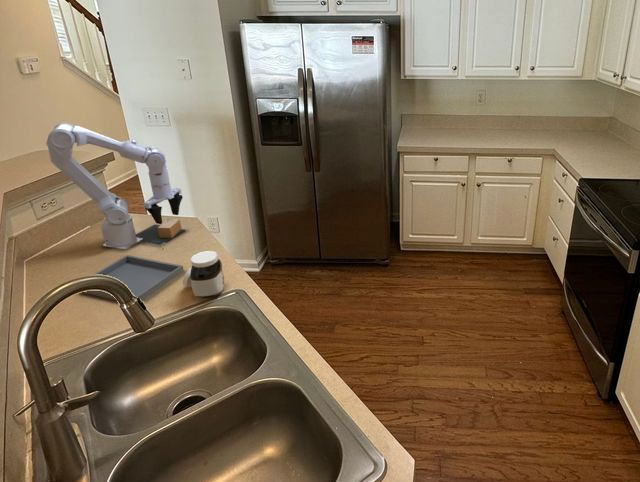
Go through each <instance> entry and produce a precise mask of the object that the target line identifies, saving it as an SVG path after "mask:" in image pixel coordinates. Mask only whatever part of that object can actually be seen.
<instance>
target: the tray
mask: <svg viewBox="0 0 640 482" xmlns="http://www.w3.org/2000/svg"><path fill="white" fill-rule="evenodd" d="M184 272H185V269H184V266H183V265H181V264H176V263H171V262H166V261H160V260H154V259H149V258H146V257H140V256H134V255H130V254H126V255H125V256H124V255H123V257H121V258H119V259H117V260H116V261H114V262H112V263H110V264H109V265H107V266H105V267H103V268H102V269H100V270H99V271H97V272H95V273H94V274H103V275H109V276H112V277H115V278H117V279H119V280H120V281H122V282H123V283H124V284H126V285H127V286H128V288H129V289H130V290H131V292H132V293H133V294H134V295H135V296H136V297H138V298H139V299H141V300H142V302H143V301H145V300H146V299H148V298H149V297H150V296H151V295H152V296H153V294H155V293H156V292H157V291H159V290H161V288H163V287H164V286H166V285H167V284H169V283H170V282H172V281H173V280H174V279H176V278H177V277H178V276H180V275H181V274H183V273H184ZM83 293H84V294H87V295H93V296H97V297H102V298H106V299H110V300H113V301H117V300H116V299H115V298H114V297H113V296H111V295H110V294H108V293H105V292H102V291H87V292H82V294H83Z"/></svg>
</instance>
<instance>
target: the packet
mask: <svg viewBox="0 0 640 482" xmlns="http://www.w3.org/2000/svg"><path fill="white" fill-rule="evenodd" d="M159 225H160V226H159V227H158V233H159V238H172V237H174V236H175V235H176V234H177V233H178V232H179V231H180V230H181V229H182V223H181V219H178V218H177V219H175V218H173V219H171V218H168V219H166V220H165V221H164V222H162V224H159Z"/></svg>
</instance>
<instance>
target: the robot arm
mask: <svg viewBox="0 0 640 482" xmlns="http://www.w3.org/2000/svg"><path fill="white" fill-rule="evenodd" d="M75 144H76V147H81V146H86V145H93V146H95V147H99V148H102V149H107V150H110V151H114V152H118V154H119V156H120V157H121V158H123V159H128V160H131V161H134V162H136V163H140V164H146V167H148V176H149V182H150V187H151V191H152V196H151V197H150V198H149V199H147V200H146V201H144V202H143V207H144V209H145V210H146V211H147V213H149V214H150V216H151V217H152V219H153V220H154V222H155V224H156V225H161V224H163V217H162V209H163V206H159V205H158V204H160V203H162V202H164V201H168V203H169V206H170V211H171V213H172V215H174V216H179V214H180V206H181V202H182V200H183V195H182V189H181V188H180V187H175V188H172V187H171V181H170V177H169V171H168V169H167V164H166V163H167V160H166V157H165V153H164V152H163V150H161V149H159V148H158V147H152V146H146V145H143V144H139V143H137V140H124V141H119V140H117V139H114V138H112V137H109V136H106V135H103V134H101V133H98V132H96V131H92V130H90V129H87V128H85V127H82V126H79V125H73V124H71V123H69V122H61V123H58V124H56V125H55V126H54V127H53V129H52V131H50V132H49V133H48V136H47V139H46V147H47V149H48V154H49V158H50V162H51V163H52V164H53V165H54V166H55V167H56V168H57V169H58V170H59V171H60V172H62V174H64V175H65V176H66V177H67V178H68V179H69V180H70V181H71V182H72V183H74V184H75V185H76V186H77V188H79V189H80V190H81V191H82V192H84V194H85V195H87V197H89V198H90V199H91V200H92V201H94V203H95V204H96V205H97V206H98V209H99V211H100V212H101V213H102V214H103V215H104V217H105V219H104V221H103V222H102V223H101V228H100V229H101V232H102V236H103V240H104V243H103V245H102V246H103V247H107V248H111V249H112V248H116V249H121V250H126V249H128V248H130V247H131V246H134V245H135V244H136V243H138V242H140V241H139V240H142V239H143V238H141V239H139V238H138V237H136V234H137V233H136V229H135V225H134V221H133V217H132V215H131V214H129V208H130V204H129V202H128V201H127V200H126V199H124V198H121V197H119V196H118V195H117V194H115V193H113V192H111V191H109V190H108V189H107V188H106V187H105V186H104V185H103V184H102V183H101V182H100V181H99V180H97V178H95V177H94V176H93V174H91V173H90V171H89V170H87V169H86V168H85V167H84V166H83V165H82V164H81V163H80V162H79V161H78V160H77V159H76V158H75V157H73V151H74V150H73V149H74V145H75ZM137 238H138V239H137Z"/></svg>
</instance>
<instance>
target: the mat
mask: <svg viewBox="0 0 640 482" xmlns="http://www.w3.org/2000/svg"><path fill="white" fill-rule="evenodd" d="M160 225H161V224H153V225H151V226H149V227H148V228H147V227H146V229H144V230H142V231H140V232H137V233H136V237H138V238H139V239H141V238H143V239H142V240H139V242H141V243H148V244H151V245H152V244H153V245H156V246H157V245H158V246H161V245H163V244H164V243H166V244H167V243H169V242H171V241H172V240H173V239H174V240H175V238H177V237H179V236H180V235H182V234H183V233H186V229H184V228H183V229H181V230H180V231H179V232H178V233H177V234H176V235H175V236H174V237H172V238H159V233H158V227H159V226H160ZM138 238H137V239H138Z"/></svg>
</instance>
